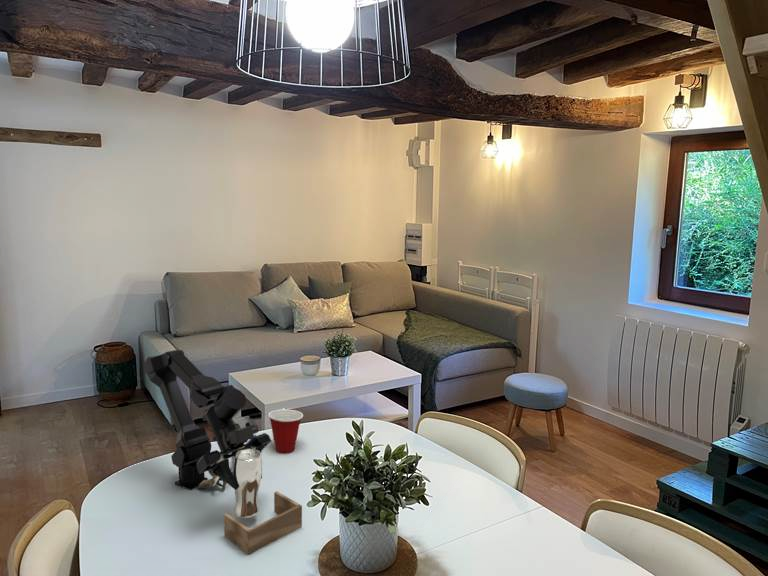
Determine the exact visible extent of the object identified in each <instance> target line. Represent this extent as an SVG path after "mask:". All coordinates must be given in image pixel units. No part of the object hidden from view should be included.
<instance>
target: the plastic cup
mask: <svg viewBox="0 0 768 576" xmlns="http://www.w3.org/2000/svg"><path fill="white" fill-rule="evenodd" d="M267 416H268V418H269V421H270V425H271V430H272V431H271V432H272V438H273V441H274V448H275V451H276V452H277V453H278V454H291V453H293V452H294V451H295V447H296V445H297V444H296V443H297V439H298V433H299V429H300V424H301V420H302V419H303V417H304V414H303V412H301V411H298V410H294V409H287V408H286V409H285V408H284V409H276V410H275V409H274V410H272V411H270V412H268V415H267Z"/></svg>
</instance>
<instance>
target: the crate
mask: <svg viewBox="0 0 768 576" xmlns="http://www.w3.org/2000/svg"><path fill="white" fill-rule="evenodd" d="M273 494H274V495H273V496H274V498H273V499H274V500H273V501H274V502H273V503H274V506H273V512H274V514H277V515H274V516H273V517H271V518H269V519H268V520H265V521H263V522H262V523H259V524H257V525H255V526H253V527H251V528H249V527H248V526H246V525H245V524H243V523H242V522H240V521H239V520H237V519H236V518H234V517H233V516H231V515H230V514H229V513H225V514H224V515H223V528H224V529H223V530H224V537H225V538H226V539H227V540H229V541H230V542H232V543H233V544H234V545H236V546H237V547H238V548H239V549H241V550H243V551H244V552H245V553H246V554H248V555H251V554H253V553H254V552H257V551H258V550H260V549H262V548H264V547H266V546H268V545H270V544H271V543H273V542H275V541H277V540H279V539H280V538H283V537H284V536H287V535H288V534H290V533H292V532H294V531H296V530H297V529H300V528H301V527H302V526H303V505H302V504H300V503H298V502H297V501H295V500H293V499H291V498H289V497H288V496H286V495H285V494H283V493H281V492H279V491H278V490H276V491H274V492H273Z"/></svg>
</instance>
